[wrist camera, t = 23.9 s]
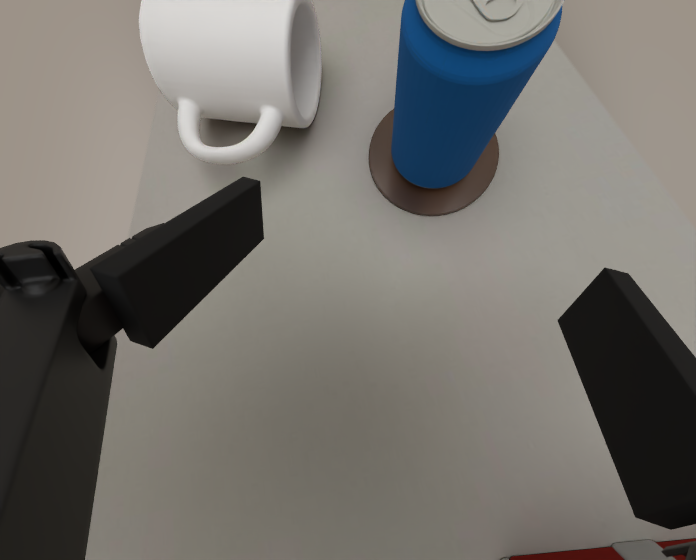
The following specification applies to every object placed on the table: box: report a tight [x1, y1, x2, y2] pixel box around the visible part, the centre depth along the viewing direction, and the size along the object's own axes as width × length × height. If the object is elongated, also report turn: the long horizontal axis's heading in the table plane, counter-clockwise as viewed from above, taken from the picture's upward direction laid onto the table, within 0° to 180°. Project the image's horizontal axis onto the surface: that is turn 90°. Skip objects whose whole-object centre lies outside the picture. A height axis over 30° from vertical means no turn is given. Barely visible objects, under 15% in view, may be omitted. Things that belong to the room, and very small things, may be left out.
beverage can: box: [391, 0, 565, 188], centre depth 17 cm, size 6×6×12 cm
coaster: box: [369, 109, 499, 216], centre depth 23 cm, size 10×10×1 cm
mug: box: [139, 0, 322, 164], centre depth 21 cm, size 12×10×8 cm
